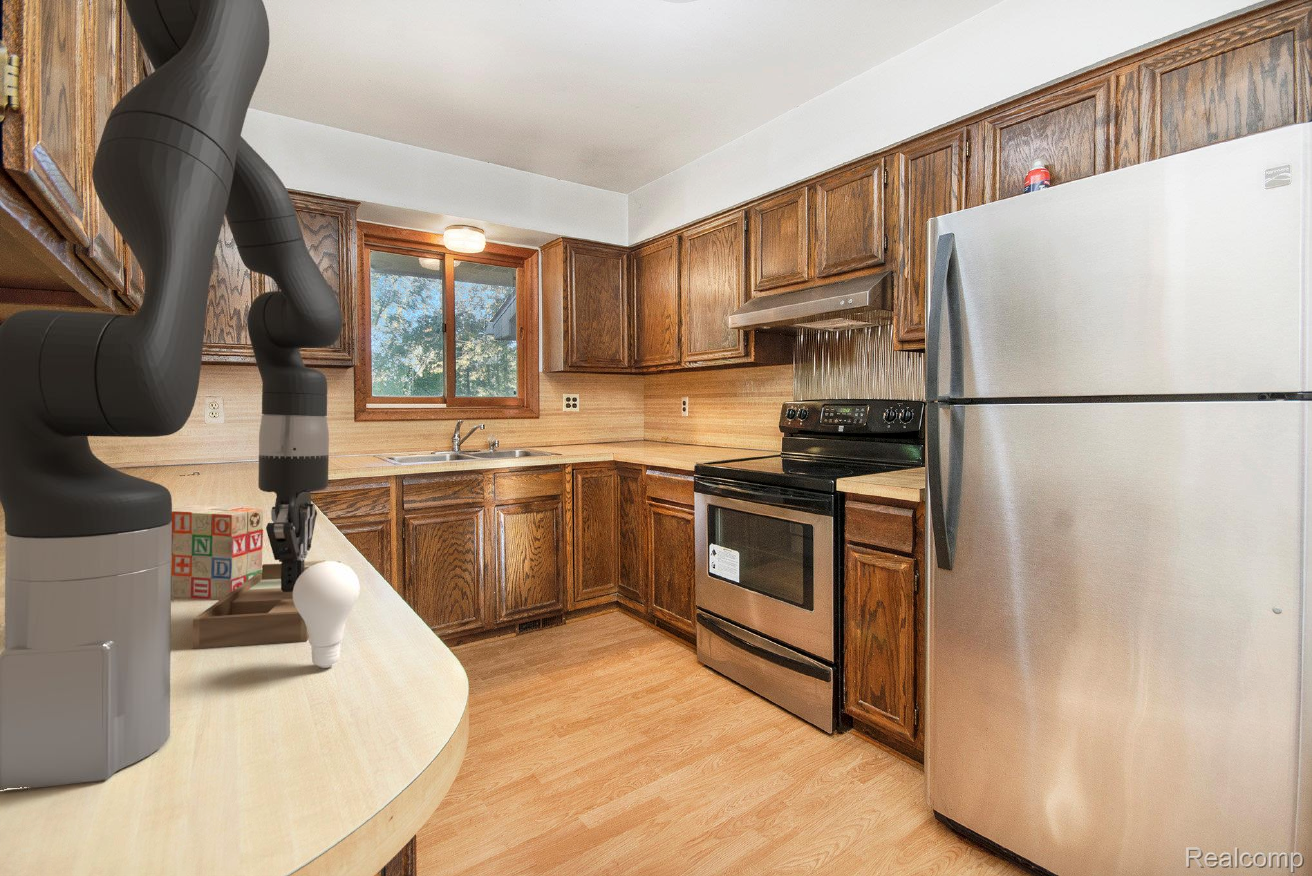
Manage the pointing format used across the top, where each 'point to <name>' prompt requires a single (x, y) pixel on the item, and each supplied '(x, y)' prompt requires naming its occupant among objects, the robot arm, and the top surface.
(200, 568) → the stack of blocks
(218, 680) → the top surface
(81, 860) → the top surface
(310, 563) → the beech block
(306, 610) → the lightbulb
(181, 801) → the top surface
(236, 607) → the board
